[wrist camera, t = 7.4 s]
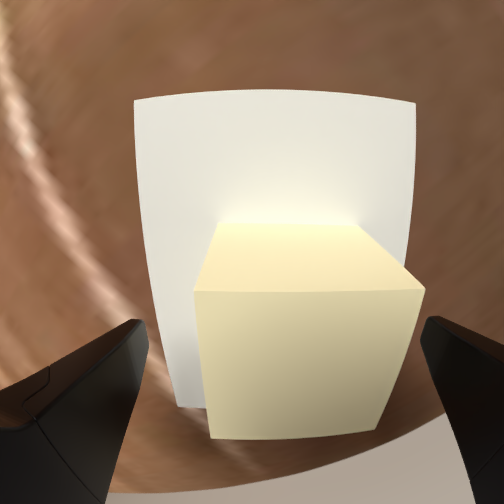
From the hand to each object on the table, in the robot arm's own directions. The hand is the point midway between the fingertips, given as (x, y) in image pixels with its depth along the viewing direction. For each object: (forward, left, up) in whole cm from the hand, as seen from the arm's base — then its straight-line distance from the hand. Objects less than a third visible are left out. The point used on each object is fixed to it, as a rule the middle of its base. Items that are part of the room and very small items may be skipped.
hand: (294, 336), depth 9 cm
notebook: (0, 0, -6) cm, 6 cm away
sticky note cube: (0, 0, -3) cm, 3 cm away
